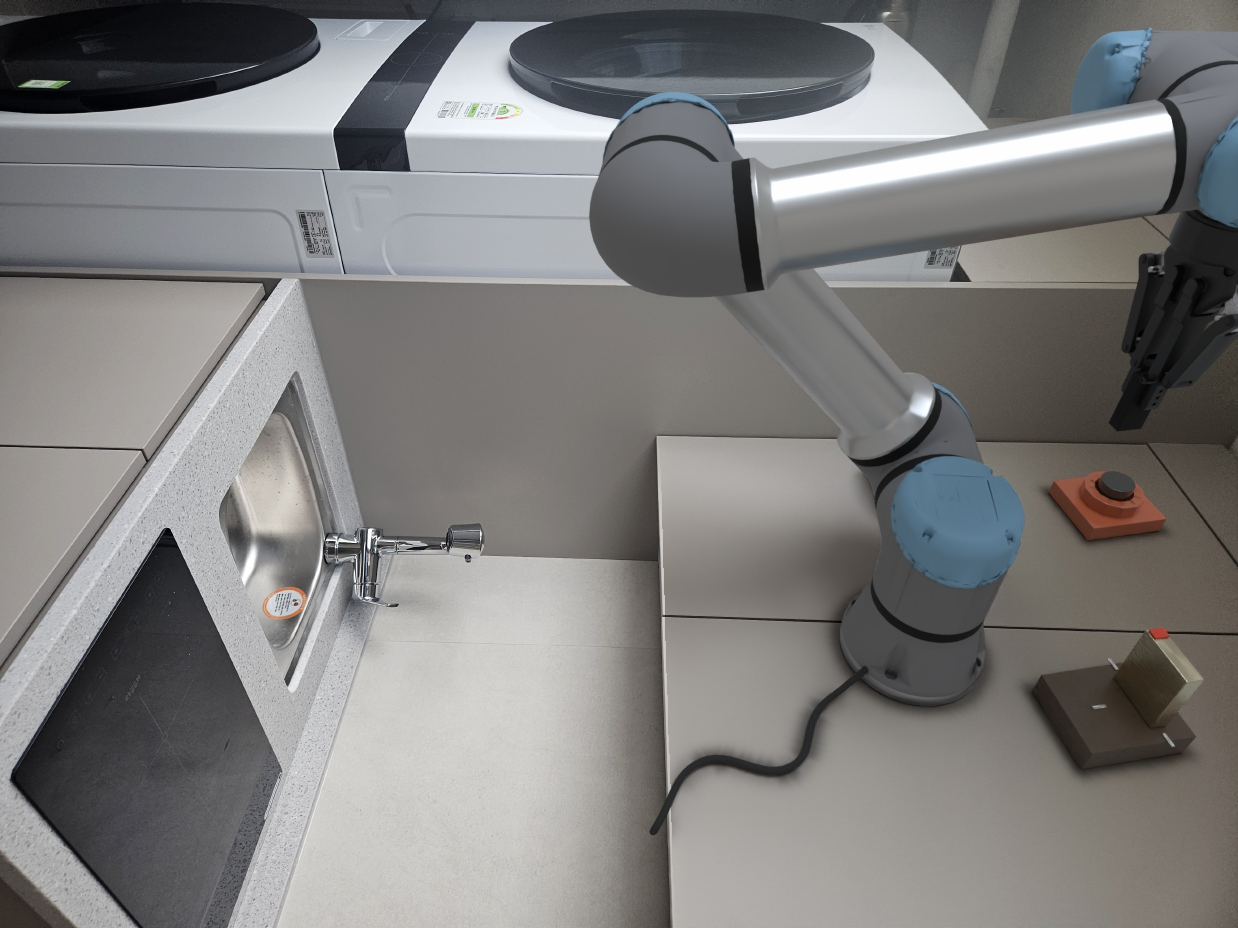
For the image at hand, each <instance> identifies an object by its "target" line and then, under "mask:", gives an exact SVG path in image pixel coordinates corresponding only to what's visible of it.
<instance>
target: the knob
mask: <svg viewBox="0 0 1238 928" xmlns="http://www.w3.org/2000/svg"><path fill="white" fill-rule="evenodd" d="M1122 663H1123V664H1122V665H1121V667H1120V668H1119V670H1118V671H1117V673H1116V674H1115V676H1114V678H1115V680H1116V681H1117V682H1118V684H1119V685H1120V687H1121V688H1122V689H1123V691H1124V692H1125V694H1126V695H1127V696H1128V698H1129V699H1130V701H1131V702H1132V703H1133V705H1134V706H1135V707H1136V709H1137V710H1138V712H1139V713H1140V714H1141V716H1142V717H1143V719H1144V720H1145V721H1146V723H1147V724H1148V726H1149V727H1150V728H1155V727H1162V726H1167V725H1168V724H1169V722H1170V721H1171V720H1172V719H1173V717H1174V716H1175V715H1176V714H1177V713H1179V711H1180V710H1181V709H1182V708H1183V706H1184V705H1186V703H1187V701H1189V699H1190V698H1191V697H1192V696H1193V694H1194V693H1195V692H1196V690H1197V689H1198V688H1199V687H1200V686H1201V685H1202V684H1203V682H1204V681H1205V678H1204V677H1203V676H1202V675H1201V673H1200V672H1199V671H1198V670H1197V668H1196V667H1195V666H1194V665H1193V663H1191V661H1190V660H1189V658H1188V657H1187V656H1186V655H1185V654H1184V653H1183V651H1181V649H1180V647H1178V645H1177V644H1176V643H1175V642H1174V639H1172V638H1171V635H1170V634H1169V633H1168V632H1167V630H1166V629H1165V628H1164V627H1157V628H1152V629H1145V630H1144V632H1143V633H1142V635H1141V636H1140V637H1139V639H1138V640H1137V642H1136V643H1135V644H1134V646H1133V648H1132V649H1131V651H1130V652H1129V654H1128V655H1127V656H1126V658H1125V660H1124V661H1123V662H1122Z"/></svg>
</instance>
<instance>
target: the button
mask: <svg viewBox="0 0 1238 928" xmlns="http://www.w3.org/2000/svg"><path fill="white" fill-rule="evenodd" d="M1106 471H1107V470H1106ZM1121 472H1122V471H1116V470H1108V471H1107V472H1105V473H1103V474H1102V475H1101V477H1100V479H1099V481H1098V483H1097V485H1096V488H1097V491H1098V492H1099V493H1100V494H1101V495H1103V496H1105V497H1107V498H1108V499H1110V500H1115V501H1119V502H1123V501H1127V500H1128V499H1129V498H1130V497H1131V495H1132V493H1133V492H1134V490H1135V488H1136V484H1135V482H1136V481H1135V480H1134V479H1133V478H1132V477H1130V476H1129V475H1127V474H1126V473H1124V472H1123V473H1124V474H1123V473H1121ZM1134 481H1135V482H1134Z"/></svg>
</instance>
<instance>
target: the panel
mask: <svg viewBox="0 0 1238 928" xmlns="http://www.w3.org/2000/svg"><path fill="white" fill-rule="evenodd" d="M1106 660H1107V662H1108V663H1109V664H1104V665H1098V666H1091V667H1090V666H1089V667H1084V668H1078V669H1071V670H1065V671H1058V672H1052V673H1044V674H1041V675H1040V676H1039V678H1038V680H1037V682H1036V683H1035V685H1034V687H1033V689H1032V693H1033V695H1034V697H1035V698H1036V699H1037V701H1038V703H1039V704H1040V706H1041V708H1042V709H1043V711H1044V713H1045V715H1046V716H1047V717H1048V719H1049V720H1050V722H1051V724H1052V725H1053V727H1054V728H1055V730H1056V732H1057V734H1058V735H1059V736H1060V738H1061V741H1063V743H1064V745H1065V746H1066V748H1067V749H1068V751H1069V752H1070V754H1071V756H1072V758H1073V759H1074V760H1075V762H1076V763H1077V765H1078V767H1079V768H1080V770H1086V769H1091V768H1093V769H1094V768H1097V767H1104V766H1110V765H1117V764H1121V763H1127V762H1134V761H1139V760H1145V759H1152V758H1157V757H1164V756H1169V755H1176V754H1181V753H1182V754H1183V753H1184V751H1185V750H1186V749H1188V747H1189V746H1190V745H1191V744H1192V743H1193V741H1194V740H1195V739H1196V738H1197V735H1196V734H1195V733H1194V731H1193V730H1192V729H1191V727H1190V726H1189V725H1188V724H1187V722H1186V721H1185V720H1184V718H1183V717H1182V716H1181V715H1180V713H1179V712H1178V713H1177V714H1176V715H1175V716H1174V717H1173V719H1172V720H1171V721H1170V722H1169V724H1168V725H1167V726H1162V727H1155V728H1150V727H1149V726H1148V724H1147V723H1146V721H1145V720H1144V719H1143V717H1142V716H1141V714H1140V713H1139V712H1138V710H1137V709H1136V707H1135V706H1134V705H1133V703H1132V702H1131V701H1130V699H1129V698H1128V696H1127V695H1126V694H1125V692H1124V691H1123V689H1122V688H1121V687H1120V685H1119V684H1118V682H1117V681H1116V680H1115V678H1114V676H1115V674H1116V673H1117V671H1118V670H1119V668H1120V667H1121V665H1122V664H1123V662H1117V663H1115V662H1114V661H1113V659H1112V658H1111V657H1109V658H1108V657H1107V659H1106Z"/></svg>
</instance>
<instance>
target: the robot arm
mask: <svg viewBox="0 0 1238 928" xmlns="http://www.w3.org/2000/svg"><path fill="white" fill-rule="evenodd" d="M604 145H605V146H604V150H603V154H602V164H601V167H600V170H599V173H598V176H597V180H596V181H595V183H594V186H593V189H592V192H591V197H590V202H589V212H588V220H589V229H590V233H591V238H592V242H593V244H594V246H595V248H596V250H597V253H598V255H599V256H600V258H601V260H602V261H603V262H604V264H605V265H606V266H607V267H608V268H609V269H610V270H611V272H613V274H614V275H616V276H617V277H618V278H620V279H621V280H623V281H624V282H625V283H626V284H627V285H629V286H631V287H634V288H637V289H639V290H641V291H644V292H647V293H649V294H650V293H651V294H653V295H654V294H655V295H657V296H664V297H675V298H715V299H716V300H717V301H718V302H719V303H720V304H721V305H722V306H723V307H724V309H726V311H728V312H729V314H731V316H732V317H733V318H734V319H735V320H736V321H737V322H738V323H739V324H740V325H741V326H742V327H743V328H744V329H745V330H746V331H747V333H749V334H750V335H751V337H752V338H754V340H755V341H756V342H757V343H758V344H759V346H761V347H762V348H763V349H764V350H765V351H766V353H767V354H769V356H771V357H772V359H773V360H774V361H775V362H776V363H777V364H778V365H779V366H780V367H781V368H782V369H783V370H784V371H785V372H786V373H787V375H789V377H790V378H791V379H792V380H793V381H795V383H796V384H797V385H798V386H799V387H800V388H801V390H803V391H804V392H805V393H806V394H807V395H808V396H809V397H810V398H811V399H812V400H813V402H814V403H815V404H816V405H817V406H818V407H819V408H820V409H821V410H822V411H823V413H825V414H826V416H828V417H829V419H830V420H831V421H833V423H835V425H836V426H837V431H836V441H837V445H838V447H839V449H840V451H842V453H843V454H845V456H846V457H847V458H848V459H849V460H850V461H851V462H852V463H853V464H854V465H855V466H856V467H857V468H858V469H859V470H860V471H861V472H862V474H863V475H864V476H865V477H866V478H867V480H868V482H869V484H870V486H871V490H872V495H873V500H874V508H875V511H876V517H877V518H876V519H877V522H878V523H877V524H878V528H879V533H880V550H879V553H878V557H877V559H876V562H875V563H876V564H875V567H874V571H873V574H872V576H871V577H872V578H871V580H869V582H868V583H866V584H865V586H864V587H863V588H862V590H861V591H859V592H858V593H857V594H856V595H855V596H854V597H853V598H852V599H851V600H850V602H849V604H848V605H847V606H846V608H845V610H844V613H843V616H842V619H841V623H840V627H839V643H840V647H841V650H842V654H843V656H844V658H845V660H846V662H847V663H848V665H849V666H850V668H851V669H852V670H853V672H854V674H853V675H852V676H850V677H849V678H848V679H846V680H845V681H844V682H843V683H841V685H839V686H838V687H837V688H836V689H834V690H833V691H831V692H830V693H829V694H827V695H826V696H825V697H824V698H823V699H822V700H821V701H820V702H819V703H818V704H817V705H816V707H815V708H814V709H813V711H812V712H811V715H810V717H809V719H808V723H807V727H806V731H805V737H804V741H803V745H802V749H801V750H800V752H799V754H798V755H797V757H795V759H793V760H791V761H790V762H789V763H786V764H783V765H778V766H770V765H769V766H768V765H762V764H760V763H759V764H758V763H755V762H753V761H752V762H751V761H749V760H745V759H742V758H738V757H734V756H732V755H731V756H730V755H726V754H711V755H705V756H702V757H699V758H697V759H695V760H693V761H692V762H690V763H689V764H688V765H686V766H685V767H684V769H682V770H681V771H680V773H678V775H677V777H676V778H675V779H674V781H673V783H672V785H671V787H670V789H669V792H668V794H667V796H666V798H665V800H664V802H663V805H662V806H661V809H660V811H659V813H658V815H657V817H656V818H655V820H654V822H653V824H652V826H651V827H650V829H649V832H648V833H649V835H651V836H656V835H657V834H658V832H659V831H660V829H661V827H662V826H663V824H664V823H665V820H666V818H667V816H668V815H669V812H670V811H671V808H672V806H673V803H674V801H675V799H676V796H677V794H678V792H679V790H680V788H681V786H682V784H683V783H684V782H685V780H686V778H687V777H688V776H689V775H690V774H691V773H693V772H694V771H695V770H696V769H698V768H700V767H702V766H705V765H707V764H713V763H723V764H728V765H732V766H736V767H739V768H743V769H746V770H749V771H751V772H756V773H760V774H765V775H782V774H787V773H789V772H792V771H794V770H796V768H798V767H800V765H802V764H803V763H804V762H805V760H806V759H807V757H808V755H809V753H810V750H811V747H812V743H813V738H814V732H815V728H816V724H817V722H818V719H819V717H820V716H821V713H822V712H823V711H824V709H825V708H826V707H828V705H829V704H830V703H832V702H833V701H834V700H835V699H837V698H839V696H841V695H842V694H843V693H845V692H846V691H848V690H849V689H850V688H851V687H852V686H853V685H855V684H856V683H857V682H858V681H859V680H862V681H863V683H865V684H866V685H868V686H869V687H871V688H872V689H874V690H875V691H876V692H879V694H882V695H884V696H886V697H888V698H890V699H892V700H894V701H897V702H901V703H903V704H908V705H913V706H921V707H935V706H942V705H947V704H950V703H954V702H956V701H957V700H961V698H963V697H965V696H966V695H967V694H968V693H969V692H970V691H971V690H972V689H973V688H974V687H975V686H976V685H977V682H978V680H979V678H980V676H981V674H982V672H983V670H984V667H985V663H986V650H987V649H986V638H985V624H984V622H985V620H986V617H987V615H988V613H989V612H990V609H991V607H992V605H993V603H994V601H995V599H996V596H997V594H998V592H999V590H1000V589H1001V586H1002V584H1003V582H1004V580H1005V577H1006V575H1007V573H1008V571H1009V569H1010V568H1011V567H1012V566H1013V564H1014V563H1015V560H1016V557H1017V556H1018V553H1019V550H1020V547H1021V544H1022V537H1023V534H1024V530H1025V523H1026V520H1025V517H1026V515H1025V511H1024V510H1025V509H1024V507H1023V503H1022V501H1021V498H1020V496H1019V495H1018V493H1017V491H1016V490H1015V488H1014V487H1013V486H1012V484H1011V483H1010V482H1009V481H1008V480H1007V479H1006V478H1005V477H1004V476H1002V475H998V476H996V475H993V474H994V469H992V468H991V467H990V466H988V465H986V464H985V463H984V460H983V457H982V454H981V452H980V451H981V450H980V448H979V446H978V443H977V440H976V437H975V435H974V434H975V433H974V429H973V425H972V422H971V418H970V416H969V414H968V412H967V410H966V408H964V406H963V405H962V404H961V402H960V401H959V399H958V398H957V397H956V396H955V395H954V394H953V393H952V392H951V391H950V390H948V389H947V388H946V387H944V386H942V385H940V384H937V383H935V382H932V381H930V379H928V378H927V377H926V376H924V374H921V373H917V372H909V371H907V372H903V371H902V370H901V369H900V368H899V367H898V365H897V364H896V363H895V362H894V360H893V359H892V358H891V357H890V356H889V354H888V353H887V352H886V351H885V350H884V349H883V348H882V346H880V344H879V343H878V342H877V341H876V339H875V338H874V337H873V336H872V335H871V334H870V333H869V331H868V329H866V328H865V327H864V326H863V324H861V322H860V321H859V320H858V318H857V317H856V316H855V315H854V313H852V312H851V310H850V309H849V308H848V307H847V306H846V305H845V303H844V302H843V301H842V300H841V299H840V297H838V295H837V294H836V293H835V292H834V291H833V289H832V288H831V287H830V286H829V284H828V283H827V282H826V281H825V280H824V279H823V278H822V277H821V275H820V274H819V273H818V272H817V271H816V269H819V268H820V269H821V268H826V267H832V266H833V267H834V266H840V265H845V264H853V263H858V262H864V261H865V262H866V261H870V260H871V261H873V260H877V259H883V258H890V257H897V256H902V255H909V254H915V253H923V252H928V251H935V250H941V249H942V250H943V249H947V248H948V249H949V248H953V247H960V246H967V245H972V244H979V243H985V242H993V241H998V240H1005V239H1011V238H1017V237H1024V236H1030V235H1037V234H1043V233H1050V232H1056V231H1062V230H1069V229H1075V228H1082V227H1088V226H1094V225H1101V224H1108V223H1114V222H1120V221H1126V220H1133V219H1139V218H1144V217H1153V216H1154V217H1155V216H1161V215H1171V214H1176V213H1177V214H1178V213H1179V214H1178V216H1177V218H1176V220H1175V222H1174V225H1173V226H1172V229H1171V231H1170V233H1169V236H1168V241H1169V245H1168V246H1167V247H1166V249H1165V250H1164V251H1154V252H1143V253H1141V254H1140V255H1139V257H1138V278H1137V283H1136V287H1135V291H1134V295H1133V299H1132V302H1131V307H1130V311H1129V314H1128V319H1127V322H1126V326H1125V331H1124V334H1123V337H1122V342H1121V346H1120V348H1121V352H1123V353H1124V354H1127V355H1128V356H1129V357H1130V360H1129V365H1130V368H1129V370H1128V372H1127V374H1126V376H1125V378H1124V380H1123V382H1122V384H1121V389H1120V391H1121V393H1122V395H1121V396H1120V399H1119V400H1118V402H1117V405H1116V407H1115V408H1114V411H1113V413H1112V415H1111V417H1110V419H1109V421H1108V424H1109V426H1111V427H1112V428H1113V429H1114V430H1115V431H1116V432H1126V431H1135V430H1141V429H1142V428H1143V426H1144V425H1145V423H1146V420H1147V419H1148V417H1149V415H1150V413H1151V411H1152V410H1156V409H1158V408H1159V407H1160V405H1161V404H1162V402H1163V399H1164V398H1165V396H1166V394H1167V393H1168V390H1171V389H1179V388H1188V387H1192V386H1194V385H1195V384H1196V383H1197V382H1198V381H1199V380H1200V379H1201V377H1202V376H1204V374H1205V373H1206V372H1207V371H1208V370H1209V369H1210V368H1211V367H1212V365H1214V363H1215V362H1217V360H1218V359H1219V358H1220V357H1221V356H1222V355H1223V354H1224V352H1225V351H1226V350H1227V349H1228V348H1229V347H1230V346H1231V345H1232V344H1233V343H1234V342H1235V341H1236V339H1237V338H1238V31H1222V30H1221V31H1219V30H1217V31H1215V30H1213V31H1212V30H1170V29H1169V30H1159V29H1153V27H1147V28H1145V29H1139V30H1123V31H1121V30H1120V31H1111V32H1108V33H1106V34H1104V35H1101V36H1100V37H1099V38H1098V39H1096V41H1095V42H1094V43H1093V44H1092V45H1091V46H1090V47H1089V49H1088V51H1087V52H1086V53H1085V55H1084V57H1083V58H1082V61H1081V63H1080V65H1079V67H1078V70H1077V72H1076V75H1075V79H1074V83H1073V86H1072V91H1071V99H1070V114H1068V115H1067V114H1066V115H1061V116H1056V117H1051V118H1045V119H1039V120H1034V121H1029V122H1023V123H1018V124H1012V125H1006V126H1001V127H1000V126H999V127H995V128H989V129H984V130H979V131H973V132H968V133H962V134H957V135H951V136H947V137H946V136H945V137H939V138H934V139H928V140H923V141H918V142H912V143H907V144H901V145H896V146H890V147H884V148H879V149H874V150H868V151H862V152H858V153H857V152H856V153H851V154H845V155H839V156H835V157H829V158H824V159H819V160H813V161H807V162H803V163H795V164H790V165H787V166H786V165H785V166H780V167H774V168H772V167H769V166H767V165H766V164H765V163H763V162H761V161H760V160H759V159H757V158H756V157H749V158H748V157H747V158H744V157H743V156H742V155H741V154H740V152H739V151H738V150H737V149H736V144H735V139H734V133H733V131H732V129H730V127H729V125H728V122H727V120H726V119H725V118H724V117H723V115H722V114H721V112H720V111H719V110H718V109H717V108H716V107H715V106H714V105H712V103H710V102H709V101H707V100H706V99H704V98H702V97H700V96H697V95H695V94H691V93H688V92H683V91H682V92H681V91H667V92H665V91H664V92H660V93H656V94H653V95H650V96H648V97H645V98H643V99H642V100H640V101H638V102H637V103H635V104H634V105H633V106H631V108H629V109H628V110H627V111H626V112H625V113H624V114H623V116H622V117H621V118H620V119H619V121H618V122H617V124H616V125H615V128H614V129H613V130H612V131H611V132H610V134H609V136H608V139H607V140H606V142H605V144H604ZM1221 309H1222V310H1221ZM1212 322H1213V323H1212ZM1209 323H1211V324H1210V325H1209ZM1207 326H1208V327H1207ZM1138 338H1140V339H1138Z"/></svg>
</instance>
